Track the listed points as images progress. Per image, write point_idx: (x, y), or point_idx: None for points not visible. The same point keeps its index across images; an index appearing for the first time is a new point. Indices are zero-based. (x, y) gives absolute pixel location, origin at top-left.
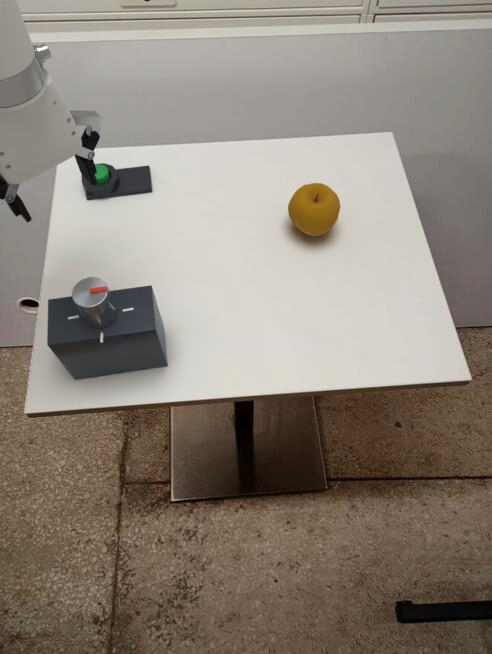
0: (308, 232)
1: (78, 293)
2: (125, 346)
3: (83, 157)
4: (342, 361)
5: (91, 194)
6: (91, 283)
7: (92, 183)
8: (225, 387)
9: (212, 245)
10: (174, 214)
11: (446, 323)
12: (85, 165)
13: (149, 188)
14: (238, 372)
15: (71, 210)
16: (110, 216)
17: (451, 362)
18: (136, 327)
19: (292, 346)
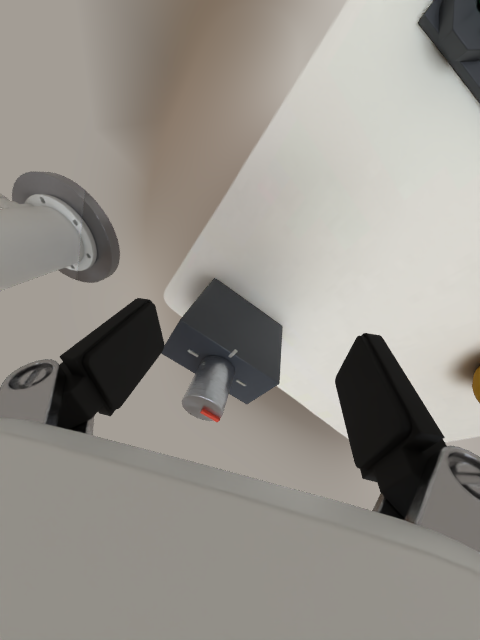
0: (473, 388)
1: (190, 402)
2: None
3: (380, 485)
4: (340, 417)
5: (439, 19)
6: (209, 405)
7: (337, 387)
8: None
9: (408, 302)
10: (450, 222)
11: None
12: (356, 460)
13: None
14: (289, 380)
15: (368, 30)
16: (393, 130)
17: None
18: (235, 394)
19: (331, 396)
